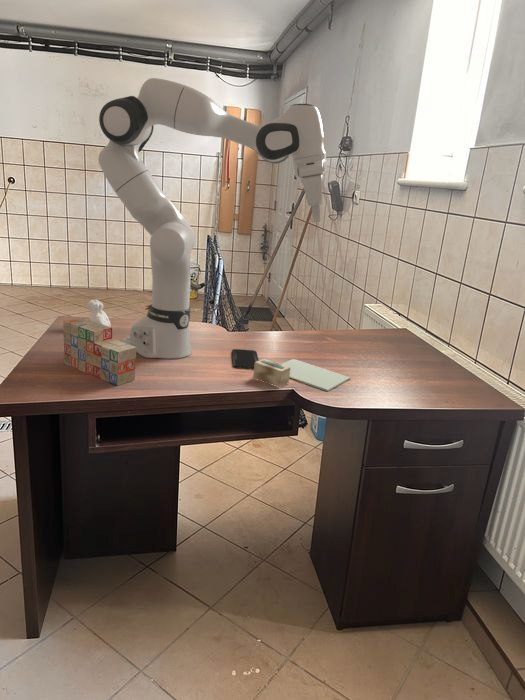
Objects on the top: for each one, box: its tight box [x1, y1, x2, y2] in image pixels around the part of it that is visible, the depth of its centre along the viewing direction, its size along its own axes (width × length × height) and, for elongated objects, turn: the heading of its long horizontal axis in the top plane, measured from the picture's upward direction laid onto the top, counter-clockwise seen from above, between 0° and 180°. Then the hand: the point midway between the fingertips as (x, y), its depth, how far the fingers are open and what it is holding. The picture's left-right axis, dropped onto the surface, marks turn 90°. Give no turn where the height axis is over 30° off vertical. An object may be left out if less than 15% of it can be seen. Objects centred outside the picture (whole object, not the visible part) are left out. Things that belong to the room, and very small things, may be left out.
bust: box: [86, 299, 112, 327], centre depth 170 cm, size 12×8×11 cm
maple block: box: [252, 358, 290, 388], centre depth 144 cm, size 9×4×5 cm, turn 55°
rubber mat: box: [280, 358, 351, 392], centre depth 152 cm, size 20×14×1 cm
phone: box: [231, 348, 259, 370], centre depth 158 cm, size 8×1×15 cm
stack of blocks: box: [62, 317, 137, 387], centre depth 136 cm, size 21×6×12 cm, turn 56°
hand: (317, 220), depth 144 cm, fingers open, 8 cm apart
